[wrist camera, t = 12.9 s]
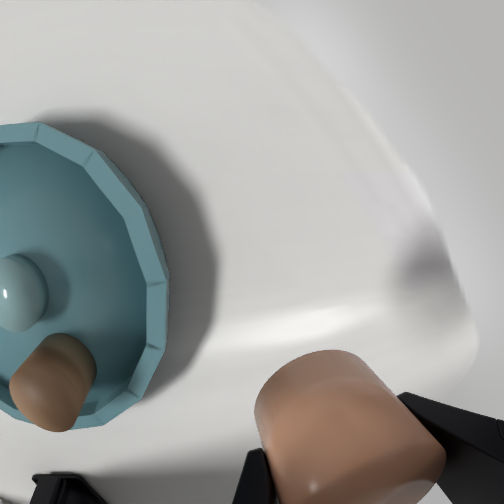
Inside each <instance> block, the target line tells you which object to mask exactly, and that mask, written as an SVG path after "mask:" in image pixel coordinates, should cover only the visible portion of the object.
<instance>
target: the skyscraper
mask: <svg viewBox="0 0 504 504" xmlns="http://www.w3.org/2000/svg"><path fill="white" fill-rule="evenodd" d="M0 504H12V503H11V502H9V501H7V500H4V499H2V498H0Z"/></svg>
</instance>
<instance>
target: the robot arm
mask: <svg viewBox="0 0 504 504" xmlns="http://www.w3.org/2000/svg"><path fill="white" fill-rule="evenodd" d="M396 397H397V398H398V399H399V400H400V401H401V402H402V403H403V404H404V405H405V406H406V407H407V408H408V410H409V411H410V412H411V413H412V414H413V415H414V416H415V417H416V418H417V419H418V420H419V421H420V423H421V424H422V425H423V426H424V427H425V428H426V429H427V430H428V431H429V432H430V433H431V435H432V436H433V437H434V438H435V439H436V440H437V441H438V442H439V443H440V444H441V445H442V447H443V448H444V449H445V452H446V463H445V466H444V469H443V471H442V473H441V475H440V477H439V479H438V480H437V482H436V483H437V484H438V485H439V486H440V488H441V489H442V490H443V492H444V493H445V494H446V496H447V497H448V498H449V500H450V501H451V502H452V504H504V421H503V420H499V419H497V420H496V419H495V418H491V417H488V416H484V415H480V414H477V413H473V412H470V411H466V410H463V409H459V408H456V407H452V406H449V405H446V404H443V403H440V402H436V401H433V400H430V399H427V398H424V397H421V396H418V395H415V394H412V393H409V392H403V393H401V394H399V395H397V396H396ZM32 480H33V481H34V482H35V483H36V485H37V486H36V488H35V491H34V493H33V496H32V498H31V501H30V504H107V503H106V502H105V501H104V500H103V499H102V498H101V497H100V496H99V495H98V494H97V493H96V492H95V491H94V490H93V489H92V488H91V487H90V486H89V485H88V484H87V482H86V481H85V480H84V479H83V478H82V477H80V476H78V475H33V477H32ZM232 504H279V502H278V499H277V495H276V492H275V488H274V485H273V482H272V478H271V475H270V471H269V468H268V464H267V461H266V457H265V454H264V451H263V449H262V448H258V449H254V450H250V451H249V452H248V453H247V457H246V460H245V463H244V467H243V470H242V473H241V476H240V480H239V483H238V486H237V489H236V492H235V495H234V499H233V502H232Z"/></svg>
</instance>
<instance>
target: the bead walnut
mask: <svg viewBox="0 0 504 504" xmlns="http://www.w3.org/2000/svg"><path fill="white" fill-rule="evenodd" d="M96 374H97V366H96V362H95V359H94V357H93V355H92V354H91V352H90V351H89V349H88V348H87V347H86V346H85V345H84V344H83V343H82V342H81V341H79V340H78V339H76V338H74V337H73V336H70V335H67V334H63V333H54V334H51V335H48V336H47V337H45V338H44V339H43V341H42V342H41V343H40V344H39V345H38V346H37V347H36V348H35V350H34V351H33V352H32V353H31V354H30V355H29V356H28V358H27V359H26V360H25V361H24V362H23V363H22V365H21V366H20V367H19V368H18V369H17V370H16V372H15V373H14V374H13V375H12V377H11V379H10V383H9V389H10V394H11V397H12V399H13V401H14V403H15V405H16V407H17V408H18V409H19V411H20V412H21V413H22V414H23V415H24V416H25V417H26V418H27V419H28V420H29V421H31V422H32V423H34V424H35V425H37V426H39V427H41V428H43V429H45V430H48V431H52V432H64V431H67V430H69V429H71V428H72V427H73V426H74V424H75V422H76V420H77V418H78V415H79V413H80V411H81V409H82V406H83V404H84V402H85V400H86V398H87V395H88V393H89V391H90V389H91V387H92V385H93V383H94V380H95V378H96Z"/></svg>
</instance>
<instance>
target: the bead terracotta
mask: <svg viewBox="0 0 504 504" xmlns="http://www.w3.org/2000/svg"><path fill="white" fill-rule="evenodd" d="M254 415H255V421H256V425H257V428H258V432H259V436H260V439H261V443H262V446H263V450H264V454H265V457H266V461H267V464H268V468H269V471H270V475H271V478H272V482H273V485H274V488H275V492H276V495H277V499H278V502H279V504H417V503H418V502H419V501H420V500H421V499H422V498H423V497H424V496H425V495H426V494H427V493H428V492H429V491H430V489H431V488H432V487H433V486H434V484H435V483H436V482H437V480H438V479H439V477H440V475H441V473H442V471H443V469H444V466H445V463H446V452H445V449H444V448H443V447H442V445H441V444H440V443H439V442H438V441H437V440H436V439H435V438H434V437H433V436H432V435H431V433H430V432H429V431H428V430H427V429H426V428H425V427H424V426H423V425H422V424H421V423H420V421H419V420H418V419H417V418H416V417H415V416H414V415H413V414H412V413H411V412H410V411H409V410H408V408H407V407H406V406H405V405H404V404H403V403H402V402H401V401H400V400H399V399H398V398H397V397H396V395H395V394H394V393H393V392H392V391H391V390H390V389H389V388H388V387H387V386H386V385H385V384H384V382H383V381H382V380H381V379H380V378H379V377H378V376H377V375H376V374H375V373H374V372H373V371H372V370H371V368H370V367H369V366H368V365H367V364H366V363H365V362H364V361H363V360H362V359H361V358H359V357H358V356H356V355H354V354H352V353H349V352H346V351H341V350H322V351H317V352H313V353H309V354H306V355H303V356H301V357H298V358H296V359H295V360H293V361H291V362H289V363H287V364H286V365H284V366H283V367H281V368H280V369H279V370H278V371H276V372H275V373H274V374H273V375H272V376H271V377H270V378H269V379H268V381H267V382H266V383H265V384H264V386H263V387H262V389H261V391H260V392H259V395H258V397H257V399H256V403H255V409H254Z"/></svg>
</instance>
